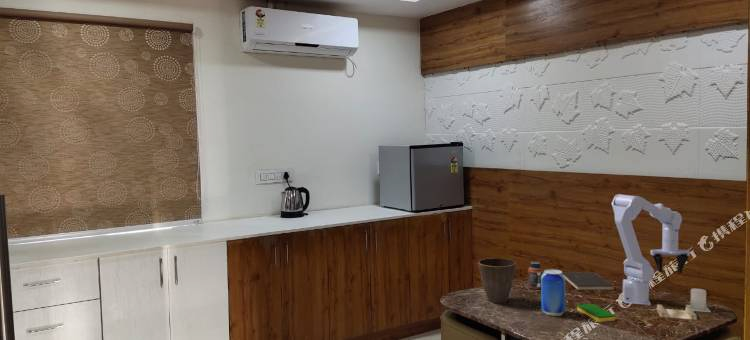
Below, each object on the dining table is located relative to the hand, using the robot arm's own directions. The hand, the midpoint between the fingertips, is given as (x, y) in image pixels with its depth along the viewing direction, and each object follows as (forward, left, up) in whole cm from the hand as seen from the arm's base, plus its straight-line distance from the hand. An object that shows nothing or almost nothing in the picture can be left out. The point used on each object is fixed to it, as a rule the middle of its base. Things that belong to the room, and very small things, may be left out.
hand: (669, 272), depth 218 cm
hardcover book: (-31, +13, -11) cm, 35 cm away
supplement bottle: (-53, -2, -10) cm, 54 cm away
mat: (+7, -16, -10) cm, 20 cm away
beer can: (-45, -35, -10) cm, 58 cm away
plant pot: (-67, -25, -10) cm, 72 cm away
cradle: (-2, -25, -10) cm, 27 cm away
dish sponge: (-30, -33, -11) cm, 46 cm away
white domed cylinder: (+7, -16, -9) cm, 20 cm away
